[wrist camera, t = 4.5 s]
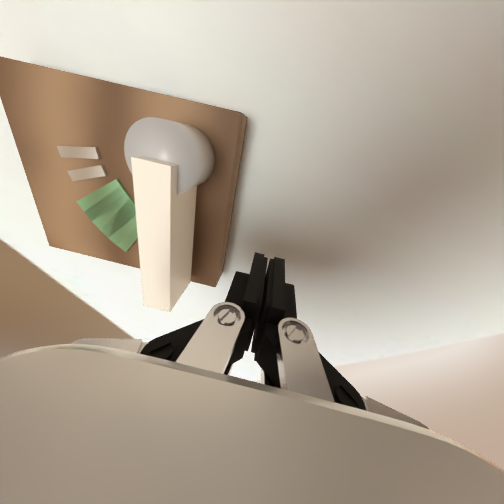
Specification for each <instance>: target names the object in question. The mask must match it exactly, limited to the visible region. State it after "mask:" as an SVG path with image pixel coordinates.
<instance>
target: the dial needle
mask: <svg viewBox="0 0 504 504" xmlns="http://www.w3.org/2000/svg"><path fill="white" fill-rule="evenodd" d="M124 153H125V159H126V162H127V165H128V168H129V170H130V172H131V173H132V175H133V187H134V199H135V210H136V222H137V234H138V246H139V258H140V270H141V282H142V294H143V305H144V306H148V307H152V308H156V309H160V310H164V311H168V312H170V311H171V310H172V308H173V307H174V305H175V304H176V302H177V301H178V299H179V298H180V296H181V295H182V293H183V292H184V290H185V289H186V287H187V286H188V284H189V283H190V281H191V267H192V252H193V237H194V222H195V207H196V192H197V185H199V184H201V183H203V182H205V181H206V180H207V179H208V178H209V177H210V175H211V173H212V171H213V168H214V163H215V156H214V150H213V147H212V145H211V143H210V141H209V139H208V138H207V136H206V135H205V134H204V133H203V132H202V131H201V130H200V129H198V128H196V127H194V126H192V125H189V124H184V123H179V122H175V121H170V120H165V119H161V118H155V117H147V118H142V119H140V120H138V121H136V122H135V123H134V124H133V125H132V126H131V127H130V128H129V130H128V132H127V134H126V137H125V142H124Z"/></svg>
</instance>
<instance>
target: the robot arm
mask: <svg viewBox="0 0 504 504" xmlns="http://www.w3.org/2000/svg"><path fill="white" fill-rule="evenodd" d="M267 259H268V258H266V257H264V254H260V253H256V252H255V255H254V259H253V263H252V267H251V271H250V274H246V273H242V272H238V271H236V273H235V276H234V278H233V281H232V284H231V287H230V289H229V292H228V295H227V298H226V300H225V302H222V303H218V304H216V305H214V306H213V307H212V308H211V310H210V311H209V313H208V314H207V316H206V317H205V319H203V320H201V321H198V322H195V323H193V324H190V325H188V326H185V327H183V328H180V329H178V330H175V331H173V332H170V333H168V334H165V335H163V336H160V337H158V338H155V339H153V340H152V341H150V342H149V343H146V342H142V340H141V339H106V338H86V339H80V340H77V341H75V342H72V343H70V344H62V345H52V346H42V347H37V348H31V349H27V350H22V351H18V352H15V353H12V354H9V355H6V356H4V357H2V358H0V504H504V470H503V469H501V468H499V467H498V466H497V465H495V464H494V463H492V462H491V461H489V460H488V459H486V458H484V457H483V456H481V455H479V454H478V453H476V452H474V451H473V450H471V449H470V448H468V447H466V446H463V445H462V444H460V443H458V442H456V441H454V440H452V439H450V438H448V437H445V436H443V435H441V434H438V433H436V432H434V431H431V430H430V429H428V427H427V426H425V425H423V424H422V423H420V422H419V421H417V420H415V419H413V418H410V417H408V416H406V415H404V414H402V413H400V412H398V411H396V410H394V409H392V408H390V407H388V406H385V405H383V404H382V403H379V402H377V401H375V400H373V399H371V398H369V397H365V398H362V397H361V396H360V394H359V393H358V392H357V391H356V389H355V388H354V387H353V386H352V385H351V384H350V383H349V382H348V381H347V380H346V379H345V378H344V377H343V376H342V375H341V374H340V373H339V372H338V371H337V370H336V369H335V368H334V367H333V366H332V365H331V364H330V363H329V362H328V361H327V360H326V359H325V358H324V357H323V356H322V355H321V354H320V353H319V352H318V349H317V346H316V343H315V340H314V337H313V334H312V332H311V330H310V328H309V327H308V326H307V325H306V324H305V323H304V322H302V321H300V320H298V319H297V314H296V302H295V291H294V285H292V284H287V283H285V260H284V259H281V258H277V257H274V259H270V261H269V265H268V268H267V272H266V267H267ZM253 332H254V335H253ZM252 336H253V342H252V349H251V352H253V353H255V358H254V361H257V363H258V364H259V365H260V367H261V368H262V369H261V384H260V383H257V382H253V381H249V380H245V379H241V378H237V377H233V376H229V374H230V372H231V369H232V366H233V363H235V362H236V361H238V360H240V359H241V358H243V354H244V351H248V349H249V346H250V342H251V339H252Z"/></svg>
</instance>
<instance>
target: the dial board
mask: <svg viewBox="0 0 504 504" xmlns="http://www.w3.org/2000/svg"><path fill="white" fill-rule="evenodd" d="M0 97H1V100H2V103H3V106H4V109H5V112H6V115H7V118H8V121H9V124H10V127H11V130H12V133H13V136H14V139H15V142H16V145H17V148H18V152H19V155H20V158H21V161H22V164H23V167H24V170H25V173H26V176H27V179H28V182H29V185H30V188H31V191H32V194H33V197H34V200H35V203H36V206H37V209H38V212H39V215H40V218H41V221H42V224H43V227H44V230H45V233H46V236H47V239H48V242H49V245H50V246H52V247H56V248H60V249H64V250H68V251H72V252H76V253H80V254H84V255H88V256H92V257H96V258H100V259H104V260H108V261H112V262H116V263H120V264H124V265H128V266H132V267H136V268H140V258H139V246H138V234H137V222H136V210H135V199H134V187H133V175H132V173H131V172H130V170H129V168H128V165H127V162H126V159H125V153H124V142H125V137H126V134H127V132H128V130H129V128H130V127H131V126H132V125H133V124H134V123H135V122H136V121H138V120H140V119H142V118H147V117H155V118H161V119H165V120H170V121H175V122H179V123H184V124H189V125H192V126H194V127H196V128H198V129H200V130H201V131H202V132H203V133H204V134H205V135H206V136H207V138H208V139H209V141H210V143H211V145H212V147H213V150H214V156H215V163H214V168H213V171H212V173H211V175H210V177H209V178H208V179H207V180H206V181H205V182H203V183H201V184H199V185H197V192H196V207H195V222H194V237H193V252H192V267H191V281H192V282H196V283H200V284H204V285H208V286H212V287H216V285H217V283H218V281H219V278H220V276H221V274H222V271H223V265H224V259H225V253H226V246H227V240H228V234H229V228H230V222H231V215H232V209H233V203H234V197H235V190H236V184H237V178H238V172H239V165H240V159H241V153H242V147H243V140H244V134H245V128H246V122H247V117H246V116H245V115H244V114H242V113H241V112H237V111H232V110H228V109H224V108H219V107H215V106H211V105H207V104H202V103H198V102H194V101H189V100H185V99H181V98H176V97H172V96H168V95H164V94H159V93H155V92H151V91H146V90H142V89H138V88H133V87H129V86H125V85H121V84H116V83H112V82H108V81H103V80H99V79H95V78H90V77H86V76H82V75H78V74H73V73H69V72H65V71H60V70H56V69H52V68H47V67H43V66H39V65H35V64H30V63H26V62H22V61H17V60H13V59H9V58H4V57H0Z"/></svg>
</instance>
